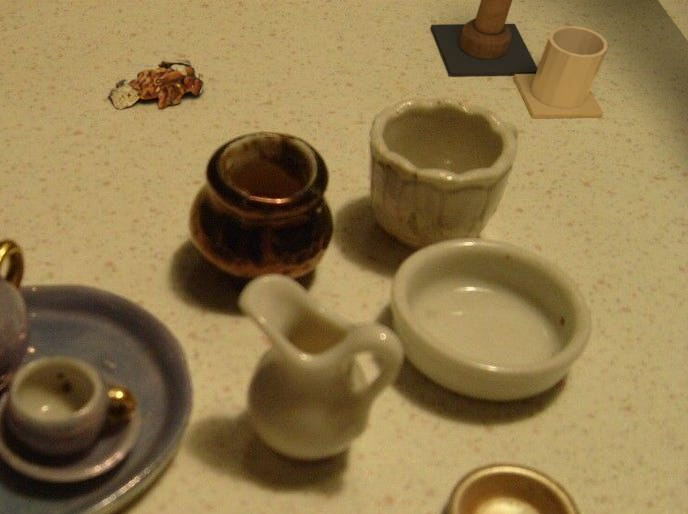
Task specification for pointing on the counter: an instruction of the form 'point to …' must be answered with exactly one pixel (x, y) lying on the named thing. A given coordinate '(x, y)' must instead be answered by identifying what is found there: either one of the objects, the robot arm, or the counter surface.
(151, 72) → the pastry
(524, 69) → the slate mat
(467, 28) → the mortar and pestle
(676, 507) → the counter surface
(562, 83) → the cream cup
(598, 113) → the cream mat
